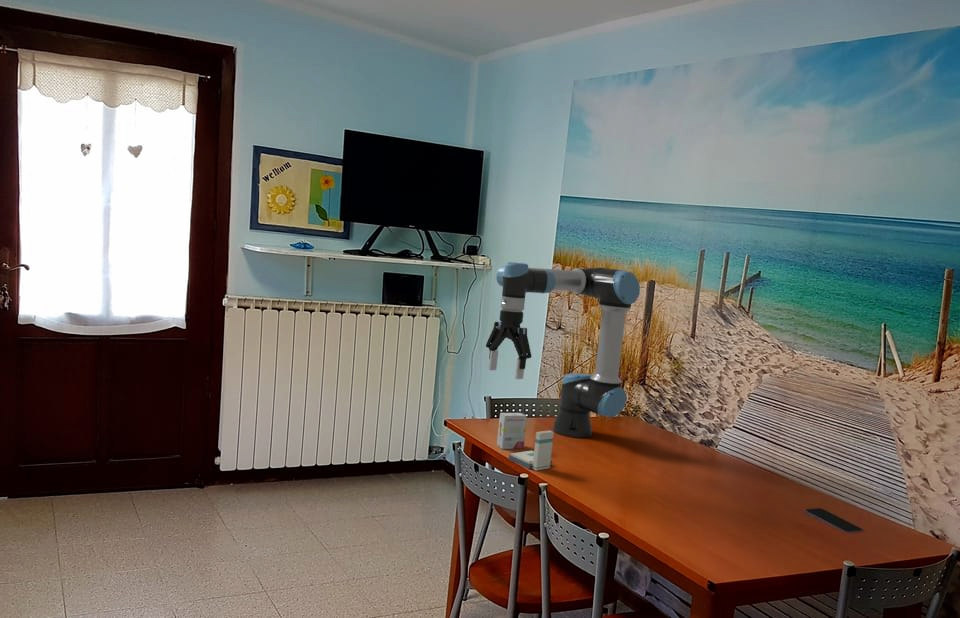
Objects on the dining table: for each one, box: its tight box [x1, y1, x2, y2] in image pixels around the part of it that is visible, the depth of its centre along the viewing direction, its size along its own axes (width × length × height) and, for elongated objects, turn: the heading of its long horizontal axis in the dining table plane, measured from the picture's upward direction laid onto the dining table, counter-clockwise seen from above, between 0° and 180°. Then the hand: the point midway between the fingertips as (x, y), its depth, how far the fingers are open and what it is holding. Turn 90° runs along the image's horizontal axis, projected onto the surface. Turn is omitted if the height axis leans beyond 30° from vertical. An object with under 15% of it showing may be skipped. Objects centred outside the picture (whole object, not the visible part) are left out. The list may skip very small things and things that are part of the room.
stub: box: [531, 430, 555, 471], centre depth 224 cm, size 6×2×12 cm, turn 128°
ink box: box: [496, 412, 528, 450], centre depth 245 cm, size 9×5×12 cm, turn 112°
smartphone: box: [804, 507, 864, 534], centre depth 204 cm, size 7×1×15 cm
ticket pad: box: [508, 450, 553, 470], centre depth 230 cm, size 10×10×2 cm
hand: (505, 374), depth 230 cm, fingers open, 13 cm apart
